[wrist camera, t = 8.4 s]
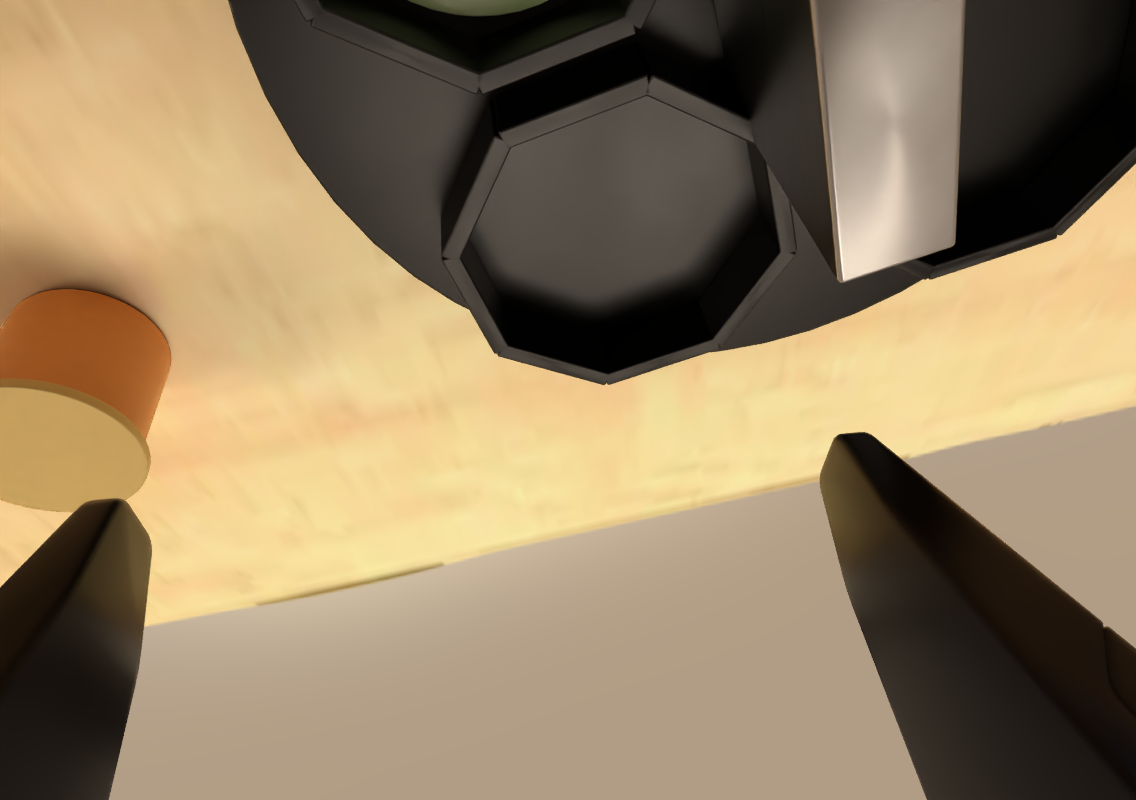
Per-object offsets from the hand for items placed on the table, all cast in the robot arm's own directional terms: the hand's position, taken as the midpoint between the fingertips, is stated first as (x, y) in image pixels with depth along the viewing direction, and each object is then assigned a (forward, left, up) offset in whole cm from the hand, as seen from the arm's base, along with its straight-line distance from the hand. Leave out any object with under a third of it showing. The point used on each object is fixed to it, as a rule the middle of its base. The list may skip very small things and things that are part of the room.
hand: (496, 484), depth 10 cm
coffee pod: (-9, -9, -11) cm, 17 cm away
